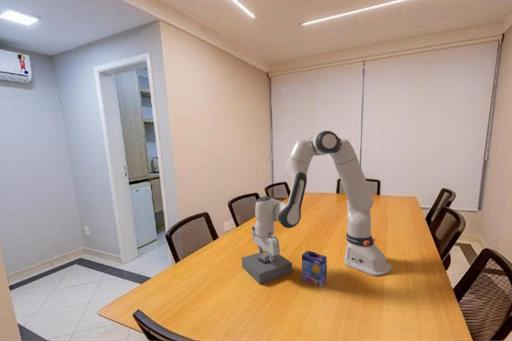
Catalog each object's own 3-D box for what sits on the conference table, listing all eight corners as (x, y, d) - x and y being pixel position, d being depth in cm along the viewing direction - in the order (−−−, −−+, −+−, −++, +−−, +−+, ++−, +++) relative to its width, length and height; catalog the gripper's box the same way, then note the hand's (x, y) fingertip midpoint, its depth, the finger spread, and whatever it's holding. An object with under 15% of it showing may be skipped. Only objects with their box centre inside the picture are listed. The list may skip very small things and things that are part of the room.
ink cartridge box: (301, 280, 112) (300, 249, 110) (307, 274, 116) (306, 245, 114) (321, 287, 105) (321, 255, 104) (327, 282, 110) (327, 251, 108)
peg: (272, 270, 121) (271, 254, 120) (265, 272, 119) (264, 257, 118) (267, 266, 124) (267, 251, 123) (260, 269, 122) (260, 253, 122)
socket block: (292, 272, 118) (291, 262, 118) (259, 284, 110) (259, 273, 109) (271, 257, 134) (271, 248, 133) (242, 266, 125) (241, 257, 125)
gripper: (282, 235, 112) (283, 264, 113) (260, 223, 129) (261, 248, 131) (271, 238, 109) (272, 268, 110) (249, 225, 126) (250, 251, 128)
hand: (266, 257), depth 121 cm, fingers open, 8 cm apart
